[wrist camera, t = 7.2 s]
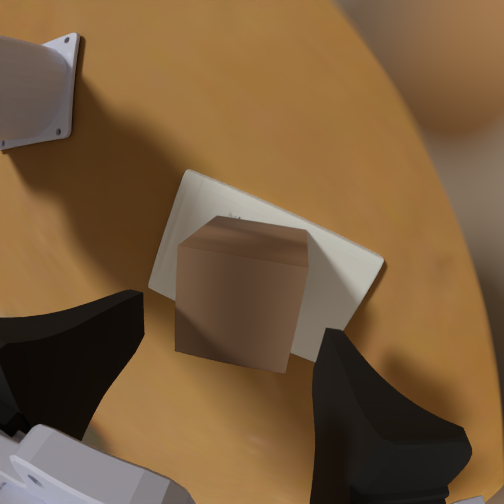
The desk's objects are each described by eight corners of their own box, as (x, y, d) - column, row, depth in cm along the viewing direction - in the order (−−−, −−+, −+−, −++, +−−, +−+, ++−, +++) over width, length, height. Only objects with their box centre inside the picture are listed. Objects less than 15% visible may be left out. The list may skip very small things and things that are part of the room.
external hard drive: (318, 352, 21) (155, 280, 21) (379, 251, 19) (193, 167, 19) (319, 366, 20) (145, 289, 20) (385, 260, 17) (184, 168, 17)
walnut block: (209, 295, 19) (174, 350, 14) (216, 215, 18) (177, 245, 12) (290, 310, 19) (284, 373, 13) (306, 229, 17) (308, 267, 11)
